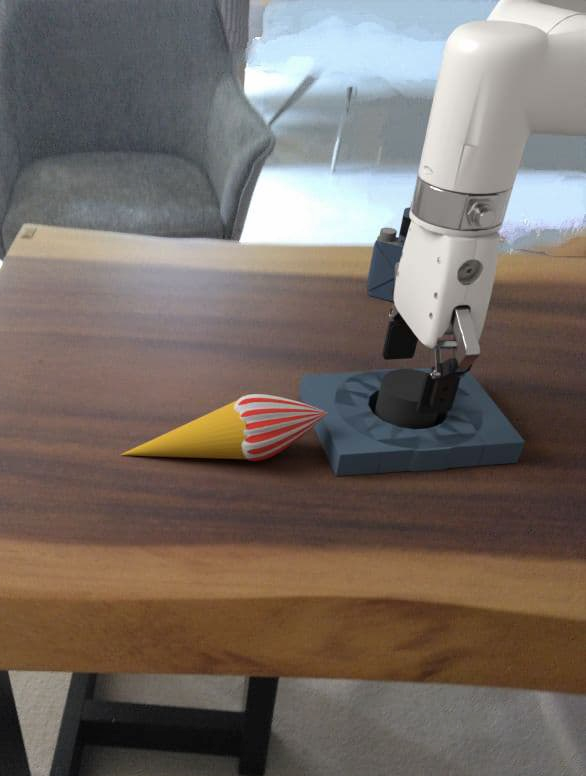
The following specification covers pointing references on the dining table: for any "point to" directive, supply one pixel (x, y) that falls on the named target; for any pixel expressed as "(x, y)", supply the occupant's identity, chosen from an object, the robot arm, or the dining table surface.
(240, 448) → the ice cream cone
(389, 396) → the dark grey cylinder
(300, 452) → the dining table surface
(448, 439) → the base pad
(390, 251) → the vaping device
